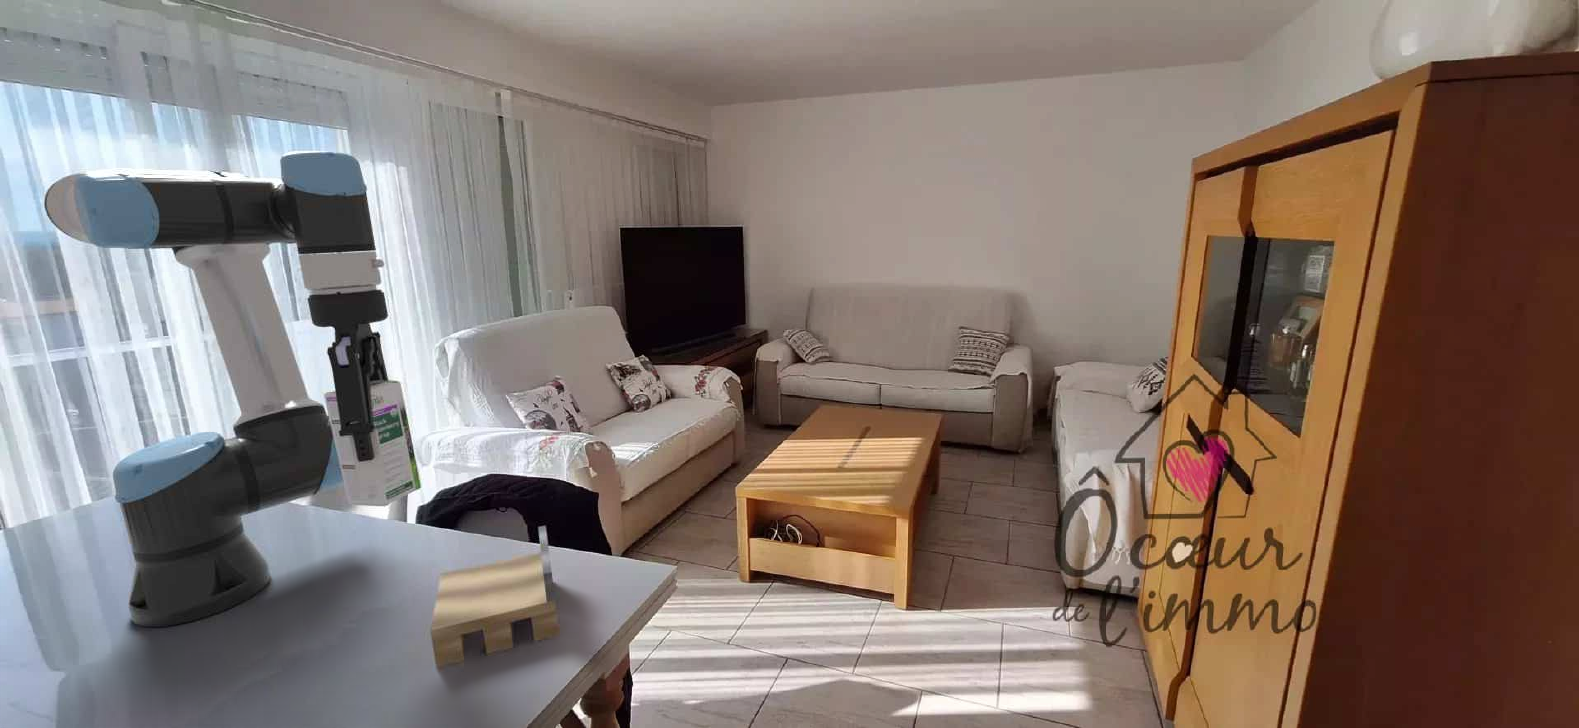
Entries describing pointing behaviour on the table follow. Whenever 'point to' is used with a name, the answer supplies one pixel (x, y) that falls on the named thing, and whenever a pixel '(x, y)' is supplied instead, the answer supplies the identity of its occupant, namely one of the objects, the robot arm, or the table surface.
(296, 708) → the table surface
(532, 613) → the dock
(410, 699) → the table surface
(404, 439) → the syrup box
